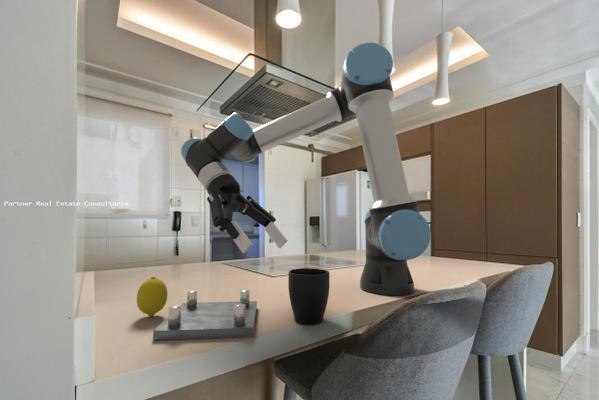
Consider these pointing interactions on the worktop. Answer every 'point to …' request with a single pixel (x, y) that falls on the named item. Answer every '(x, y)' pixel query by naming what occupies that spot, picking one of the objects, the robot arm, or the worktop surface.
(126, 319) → the worktop surface
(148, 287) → the lemon
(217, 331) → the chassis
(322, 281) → the mug
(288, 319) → the worktop surface
